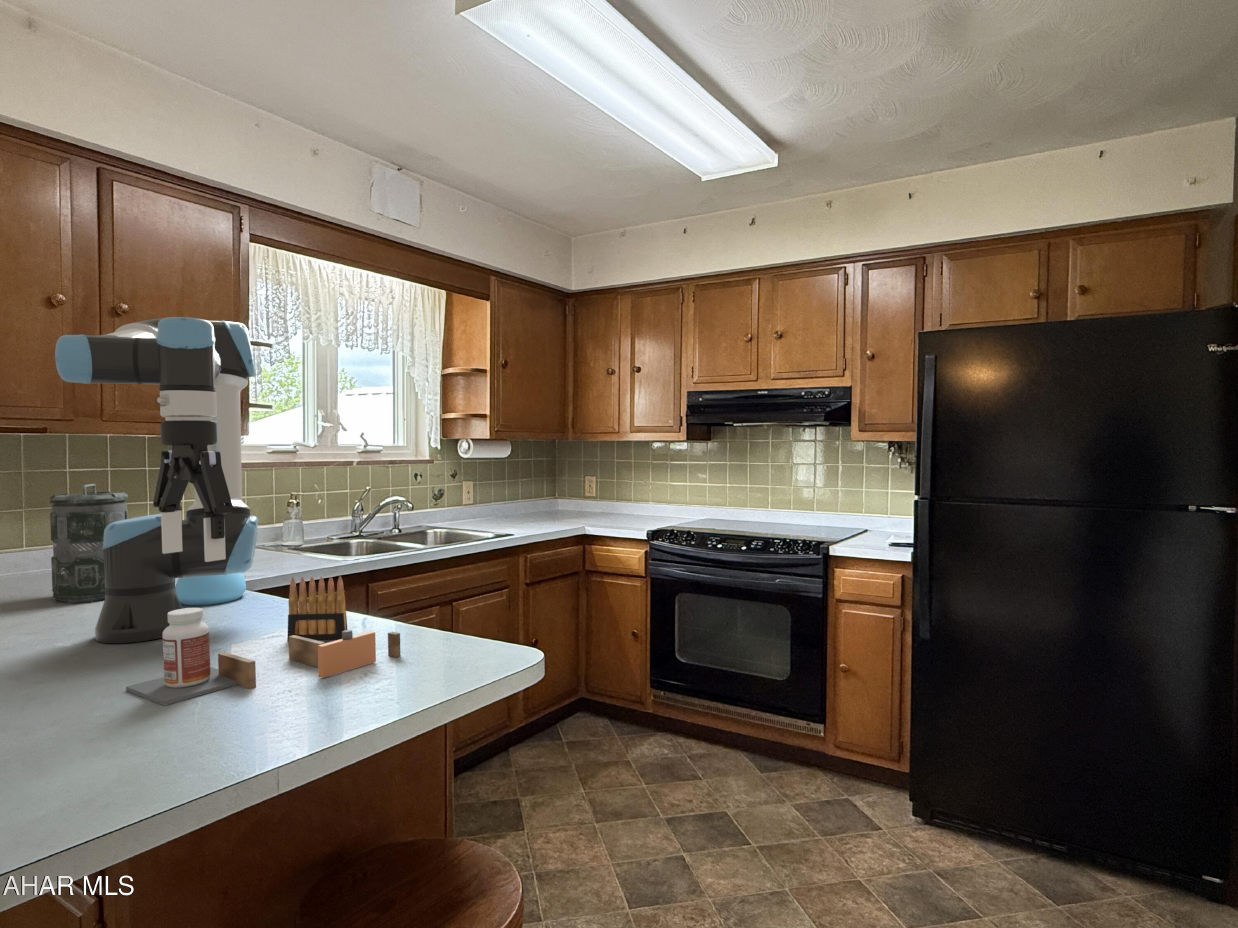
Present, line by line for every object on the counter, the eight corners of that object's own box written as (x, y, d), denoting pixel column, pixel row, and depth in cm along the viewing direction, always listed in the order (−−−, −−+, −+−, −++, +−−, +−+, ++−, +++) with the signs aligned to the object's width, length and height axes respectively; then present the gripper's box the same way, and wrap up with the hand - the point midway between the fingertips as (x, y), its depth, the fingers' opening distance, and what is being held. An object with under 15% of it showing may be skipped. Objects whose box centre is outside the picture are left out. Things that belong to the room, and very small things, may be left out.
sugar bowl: (159, 605, 170) (158, 556, 170) (209, 592, 185) (208, 547, 184) (213, 608, 167) (211, 557, 166) (260, 594, 181) (258, 548, 181)
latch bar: (317, 676, 115) (316, 637, 115) (370, 660, 124) (369, 624, 123) (323, 678, 114) (322, 639, 114) (376, 661, 123) (375, 625, 123)
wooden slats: (218, 678, 115) (217, 653, 115) (346, 643, 135) (346, 622, 135) (271, 695, 107) (271, 669, 107) (400, 655, 127) (400, 633, 126)
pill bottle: (215, 674, 116) (213, 605, 115) (204, 686, 110) (201, 613, 109) (172, 677, 114) (170, 607, 114) (157, 690, 108) (155, 616, 108)
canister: (122, 600, 176) (118, 484, 175) (42, 606, 170) (38, 487, 169) (138, 588, 190) (134, 481, 190) (65, 593, 185) (61, 483, 184)
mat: (126, 690, 110) (126, 686, 110) (207, 669, 120) (207, 665, 120) (164, 705, 104) (164, 701, 104) (246, 681, 114) (246, 678, 114)
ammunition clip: (348, 637, 140) (346, 575, 139) (345, 639, 138) (343, 576, 137) (291, 638, 139) (289, 576, 139) (287, 641, 137) (285, 578, 137)
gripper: (126, 420, 116) (130, 552, 117) (203, 417, 102) (208, 567, 103) (176, 421, 122) (180, 546, 123) (256, 418, 108) (260, 560, 109)
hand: (193, 556), depth 113 cm, fingers open, 13 cm apart
